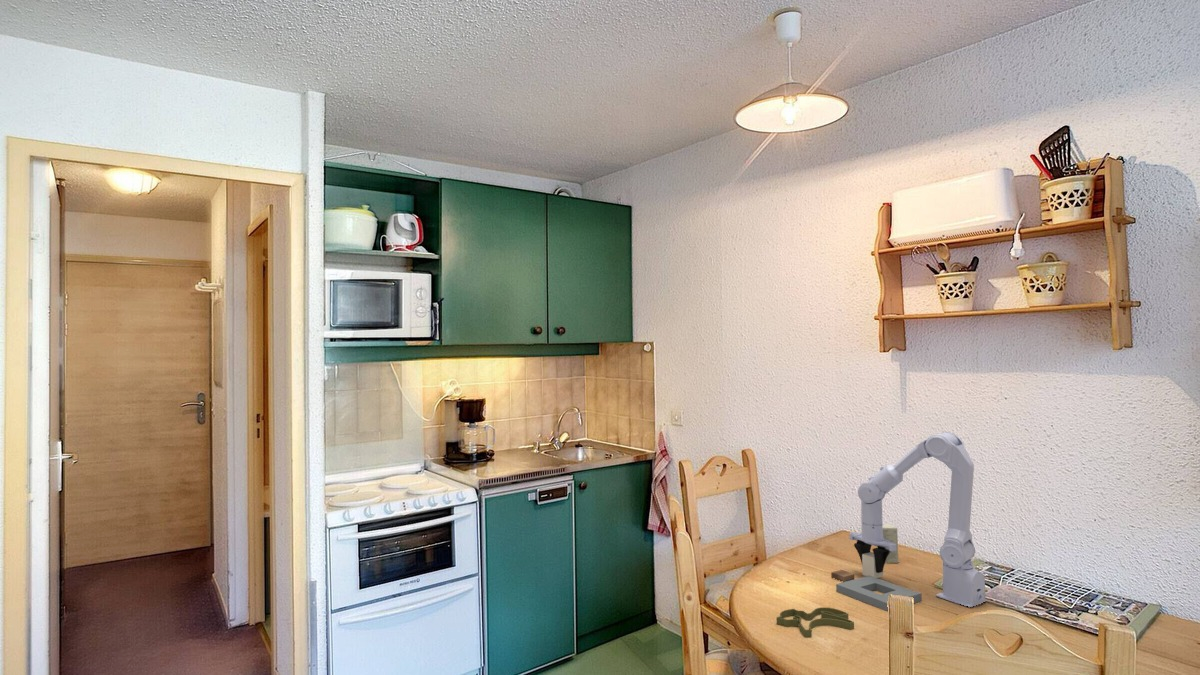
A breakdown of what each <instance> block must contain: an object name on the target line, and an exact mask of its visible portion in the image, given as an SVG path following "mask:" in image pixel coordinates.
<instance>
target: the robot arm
mask: <svg viewBox="0 0 1200 675" xmlns="http://www.w3.org/2000/svg"><path fill="white" fill-rule="evenodd" d="M932 457H933V458H934V459H935V460H939V461H940V462H942V463H943V464H944V465H945V466H946V467H948V469H949V470H950V471H951V480H950V493H949V506H948V507H949V508H948V509H949V510H948V523H947V530H946V533H945V535H944V541H943V544H942V545H941V547H940V549H939V557H940V560H942V592H940V593H936V595H935V596H936V597H938V598H941V599H942V600H946V601H948V602H952V603H955V604H958V605H960V604H961V606H963V605H964V607H966V606H968V607H967V608H970V607H971V608H974V607H977V606H979V605H978V604H980V603H983V602H985V600H986V578H985V575H984V573H983V572H982V571H979V570H977V569H976V568H975V567H974V563H973V561H972V559H973V558H974V556H975V554H976V547H975V545H974V543H973V534H972V532H971V531H970V530H971V513H972V501H973V485H974V471H975V470H974V468H975V466H974V462H973V461H972V458H971V457H970V455H969V453H968V450H967V449H966V448H965V443H964V441H963V440H962V439H961V438H960V437H958V436H957V435H956V434H955V433H952V432H950V431H944V432H941V433H939V434H938V433H937V434H932V435H930V436H929V437H927V438H926V439H924V440H923V441H920V443H918V444H917V445H915V447H913V448H912V449H911V450H910V451H909V452H907V454H905V455H904V456H903V457H902V458H901V459H900V460H898V462H897V463H895V464H894V465H891V464H887V465H882V466H881V467H880V468H879V470H880V471H878V472H877V473H876V474H875V475H873V476H870V477H868V482H863V483H861V484H860V486H859V487H858V489H857V495H858V497H859V499H860V502H861V504H860V505H861V506H860V508H861V509H860V510H861V511H860V512H861V513H860V514H861V516H860V517H861V522H860V523H861V533H860V532H856V531H855V532H854V531H853V532H849V536H848V537H849V540H851V541H856V542H855V543H853V546H854V549H856V551H857V554H858V556H859V559H860V561H861V564H862V554H865V553H869V552H871V550H872V553H874V557H875V567H876V572H877V573H881V572H883V573H884V567H885V564H886V563H885V561H886V559H887V557H888V555H889V553H890V552H891V551H892V552H893V551H896V544H895V543H892V542H890V541H887V540H885V539H883V525H884V523H883V499H884V498H885V497H886V494H888V493H889V492H891V491H892V490H893V489H894V488H895V487H897V486H898V485H900V484H901V482H903V479H904V474H905V473H906V472H908V471H909V470H910V469H911V468H913V467H915V465H917V464H918V463H920V462H921V461H923V459H928V458H932ZM872 546H873V547H875V548H872ZM983 604H984V603H983ZM976 605H977V606H976ZM980 605H981V604H980ZM973 606H974V607H973Z"/></svg>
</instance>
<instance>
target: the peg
mask: <svg viewBox="0 0 1200 675" xmlns="http://www.w3.org/2000/svg"><path fill="white" fill-rule="evenodd" d="M861 566H862V567H861V571H862V572H861V574H862V575H863V576H864V577H866V576H872V577H875V578H878V579H880V578H882V577H884V571H883V572H881V573H877V572H876V567H875V557H874V553H873V551H870V552H869V553H865V554H862V563H861Z"/></svg>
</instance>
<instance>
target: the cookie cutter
mask: <svg viewBox="0 0 1200 675" xmlns="http://www.w3.org/2000/svg"><path fill="white" fill-rule="evenodd" d="M819 615H820V617H821V618H816V617H817V616H819ZM789 617H792V618H791V619H786V618H789ZM814 618H816V619H814ZM802 619H803V620H805V621H810V622H809V623H808V629H806V628H805V627H804V625H803V624H802ZM776 625H778V626H783V627H788V628H791V627H795V628H799V631H800V633H801V635H802V636H803V637H804V638H813V637H812V634H813V633H812V630H813V629H814V628H816V627H822V626H831V627H837V628H841V629H842V628H843V629H845V630H854V629H855V622H854V621H853V620H850V619H849V613H848V612H845V611H843V610H840V609H837V608H832V607H823V606H822V607H818V608H814V609H813V610H812V611H811V612H809V613H807V612H806V611H805V610H798V609H795V608H790V609H789V608H788V609H785V610H782V611H780V613H779V616H776Z"/></svg>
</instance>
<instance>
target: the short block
mask: <svg viewBox="0 0 1200 675" xmlns="http://www.w3.org/2000/svg"><path fill="white" fill-rule="evenodd" d="M830 575H831V578H830V579H833V578H835V579H834V580H836V579H837V580H836V581H838V580H840V581H839V582H841V581H843V582H846V581H850V580H854V579H855V573H853V572H849V571H846V570H843V569H840V570H836V571H831V574H830ZM843 582H842V583H843Z"/></svg>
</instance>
